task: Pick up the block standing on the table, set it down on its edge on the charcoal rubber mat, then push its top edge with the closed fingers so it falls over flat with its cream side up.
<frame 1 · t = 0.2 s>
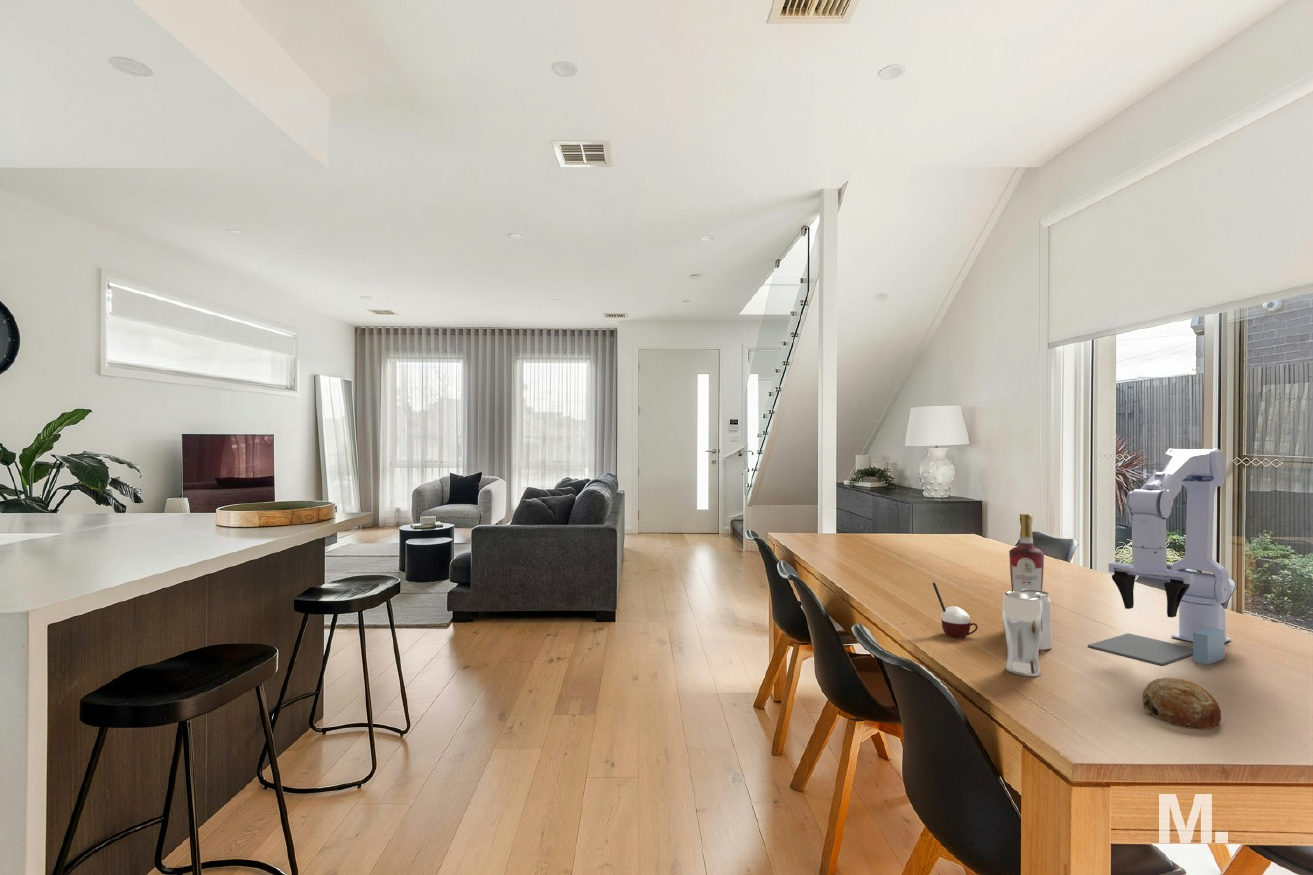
hand: (1149, 612, 132), 10 cm above the table, tool pointing down, fingers open, 7 cm apart
can: (1034, 647, 141), on the table
cocoa: (954, 636, 149), on the table
bread roll: (1181, 718, 104), on the table
liquor: (1027, 630, 153), on the table
mat: (1144, 649, 139), on the table
block: (1209, 659, 132), on the table
beer glass: (1023, 672, 125), on the table
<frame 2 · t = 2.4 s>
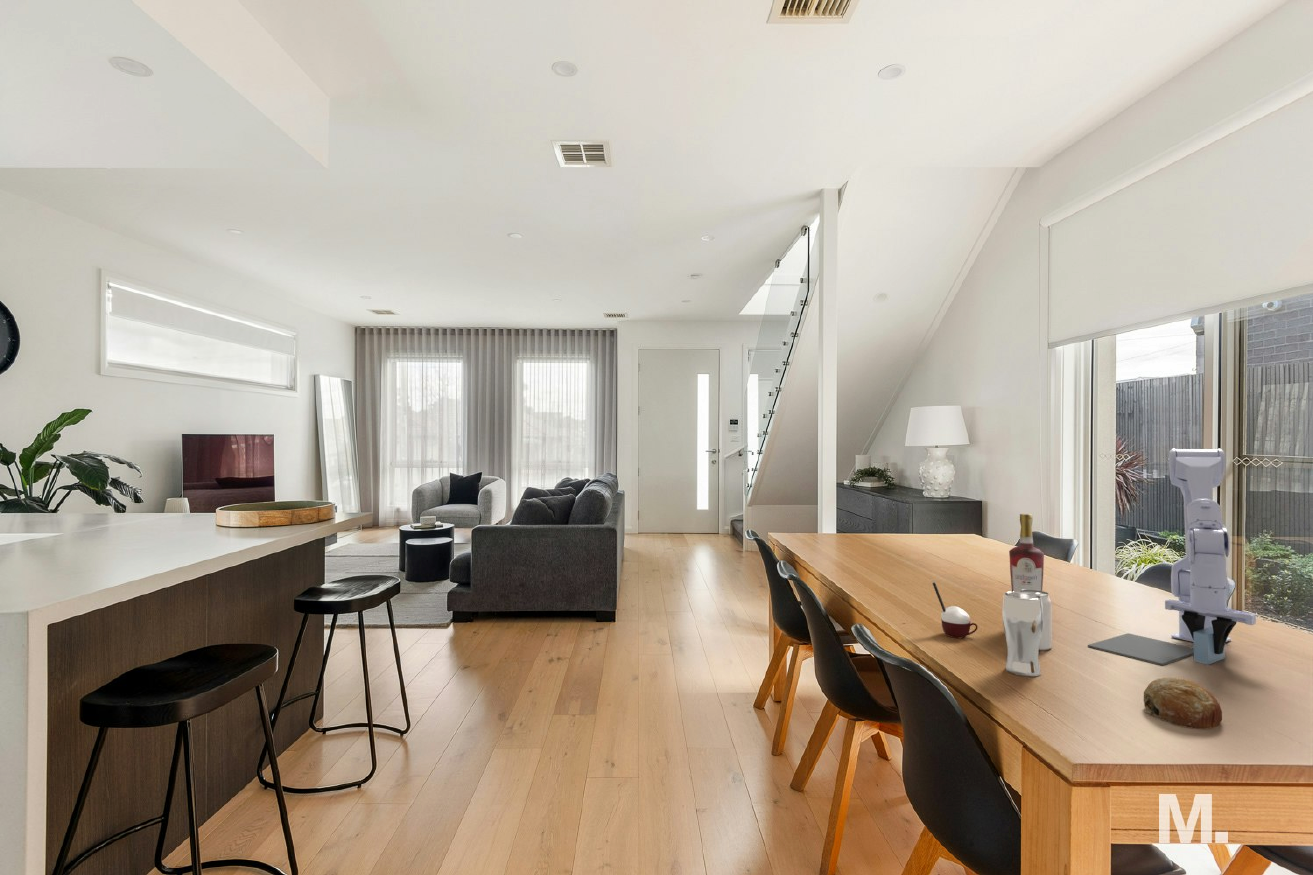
hand: (1208, 651, 132), 2 cm above the table, tool pointing down, fingers closed on block, 2 cm apart
block: (1209, 659, 132), on the table, touching gripper
everything else where it was.
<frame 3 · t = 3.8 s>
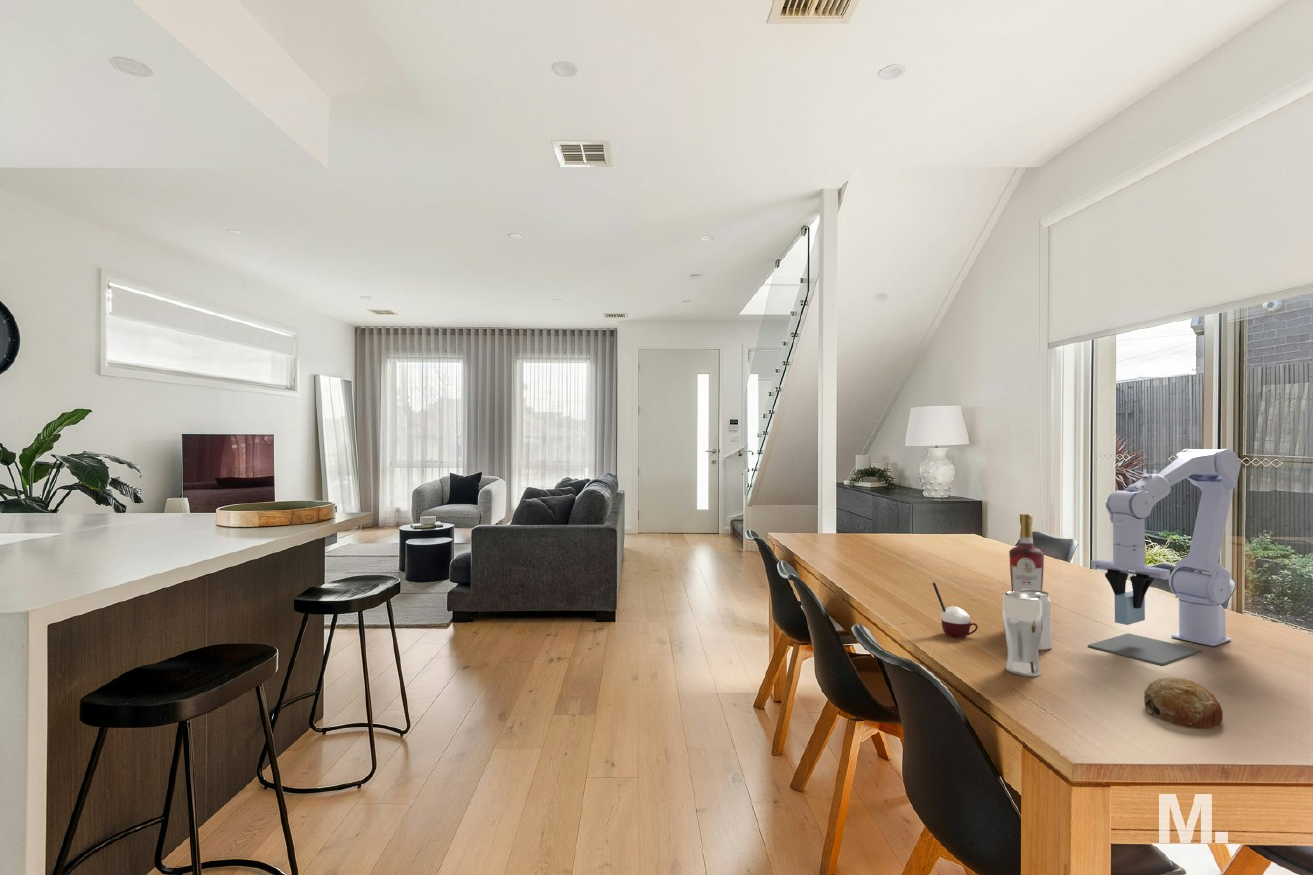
hand: (1129, 606, 141), 9 cm above the table, tool pointing down, fingers closed on block, 2 cm apart
block: (1129, 621, 141), point 6 cm above the table, touching gripper
everything else where it was.
when the fingers open (3 cm above the table, at t = 5.3 s): block stays where it is, resting on mat.
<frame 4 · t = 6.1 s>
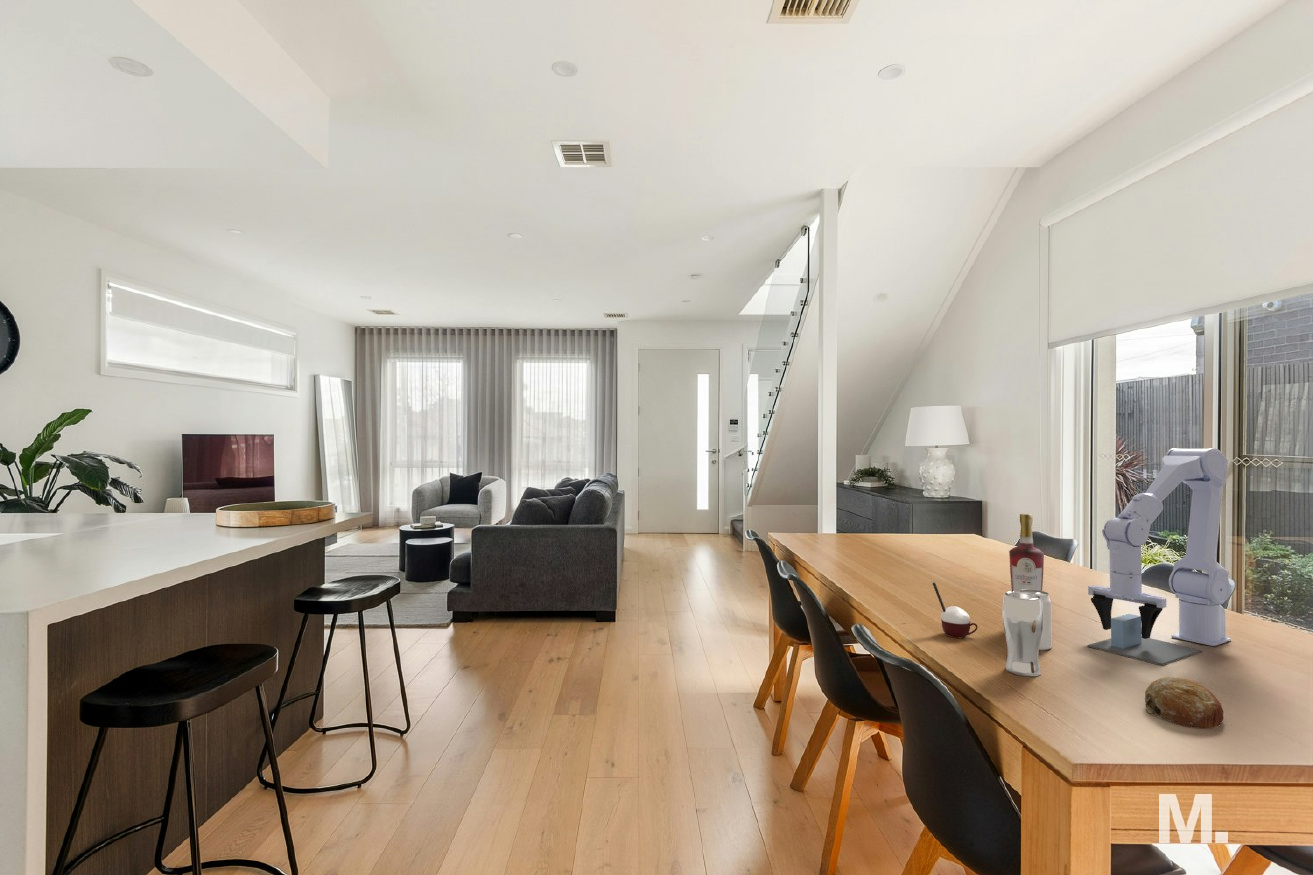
hand: (1126, 633, 141), 3 cm above the table, tool pointing down, fingers open, 7 cm apart
block: (1126, 644, 141), resting on mat
everything else where it was.
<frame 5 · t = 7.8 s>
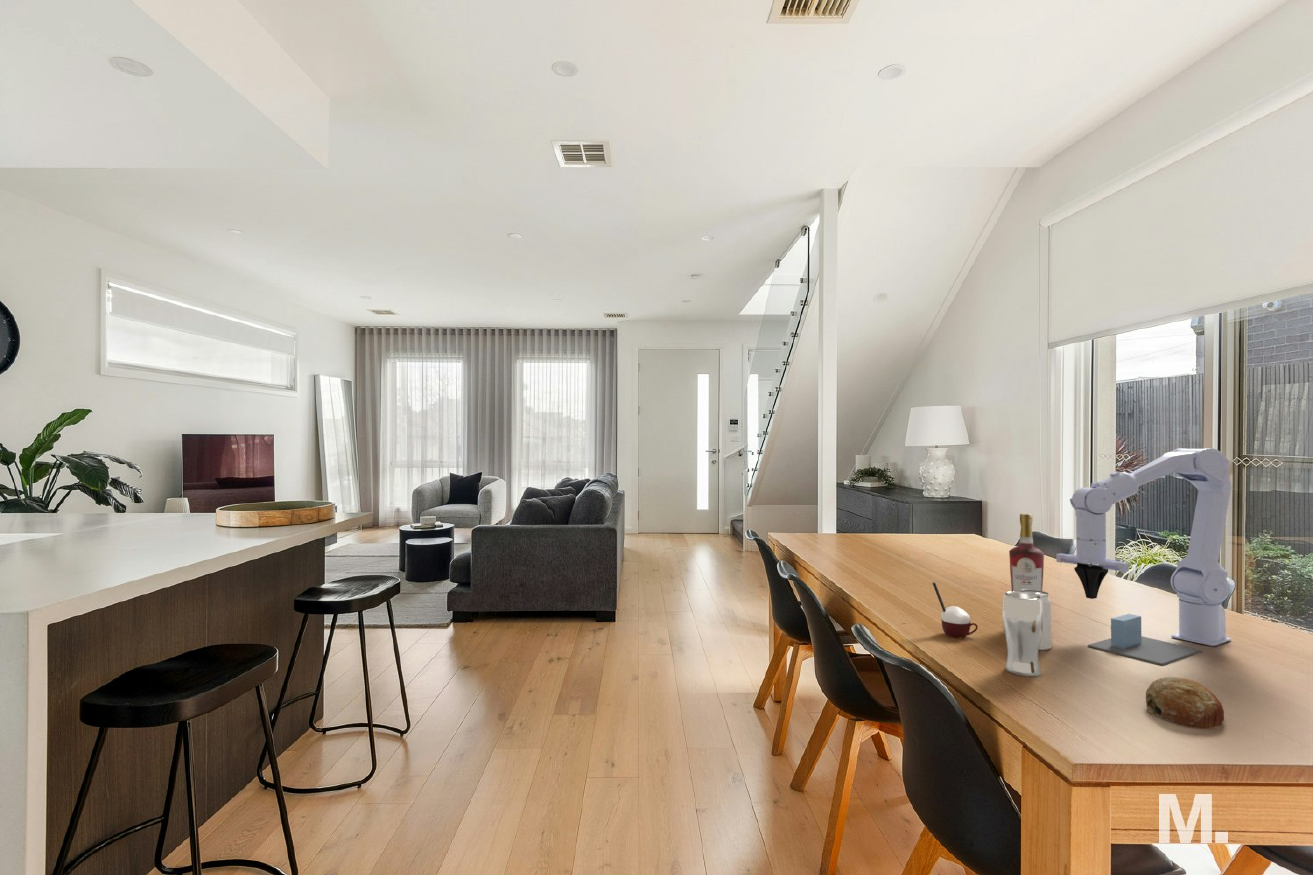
hand: (1091, 597, 147), 9 cm above the table, tool pointing down, fingers closed
nothing on the table moved.
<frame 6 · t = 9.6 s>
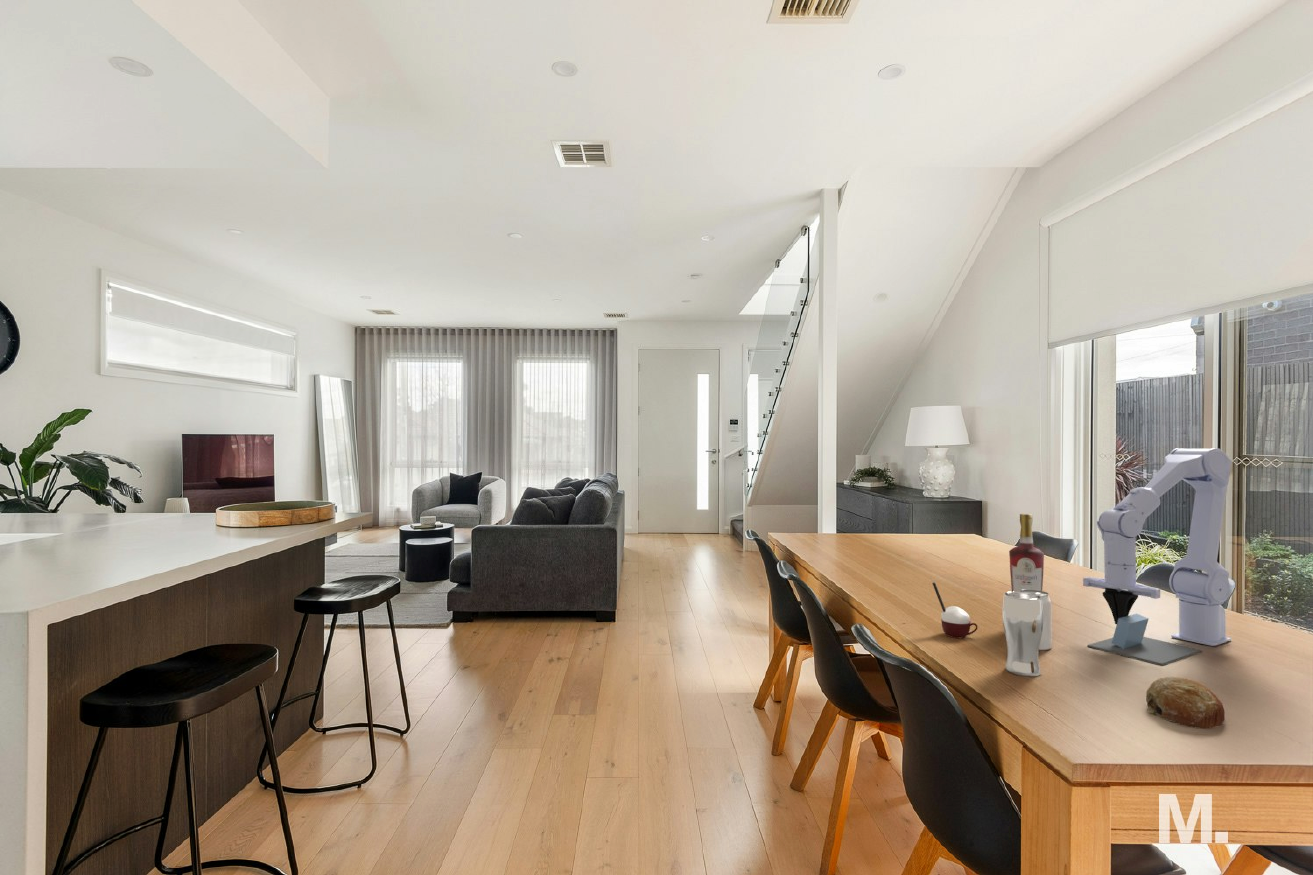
hand: (1120, 624, 142), 5 cm above the table, tool pointing down, fingers closed
block: (1126, 643, 141), point 1 cm above the table, tilted 14°, touching mat
everything else where it was.
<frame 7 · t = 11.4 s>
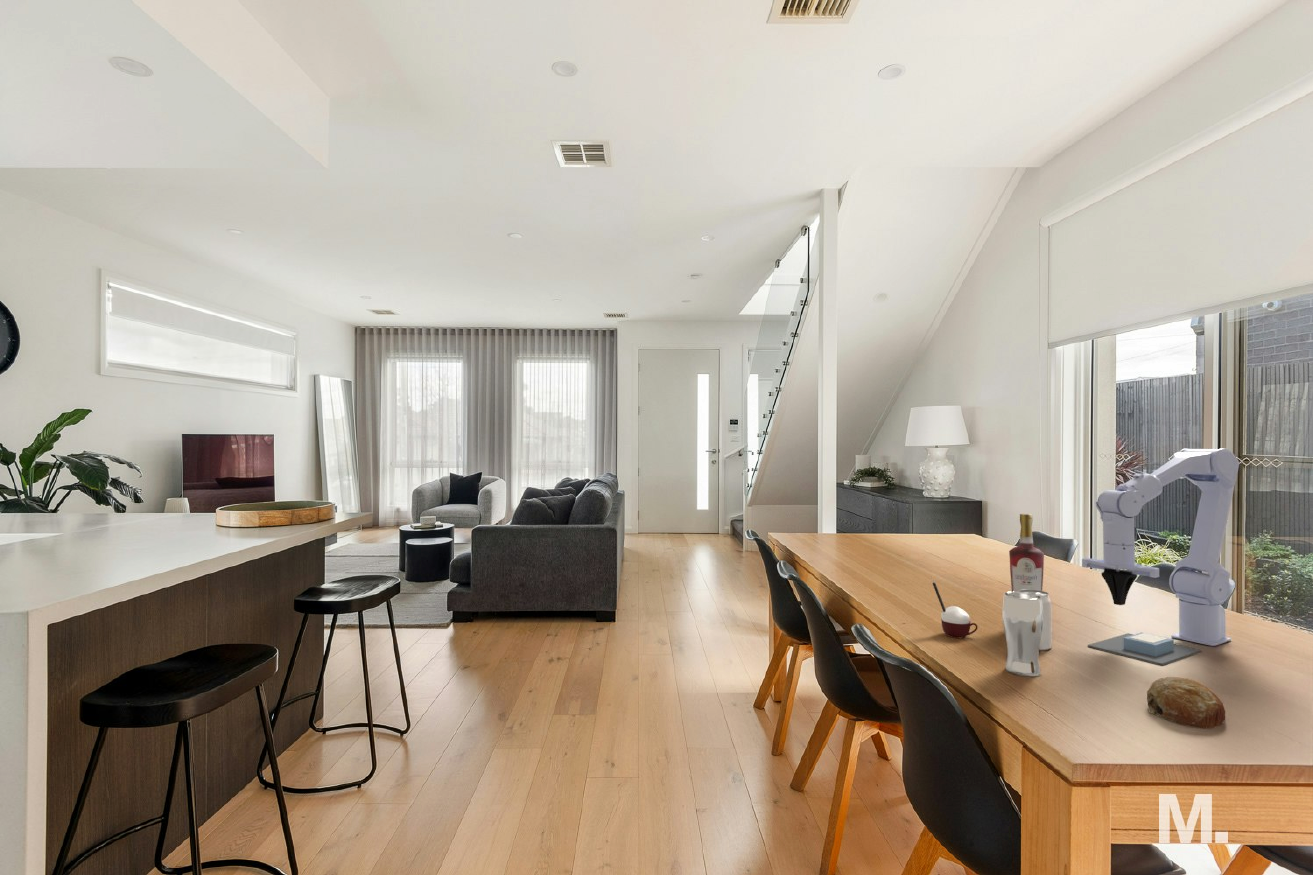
hand: (1119, 604, 142), 9 cm above the table, tool pointing down, fingers closed
block: (1132, 640, 140), point 2 cm above the table, tilted 90°, touching mat
everything else where it was.
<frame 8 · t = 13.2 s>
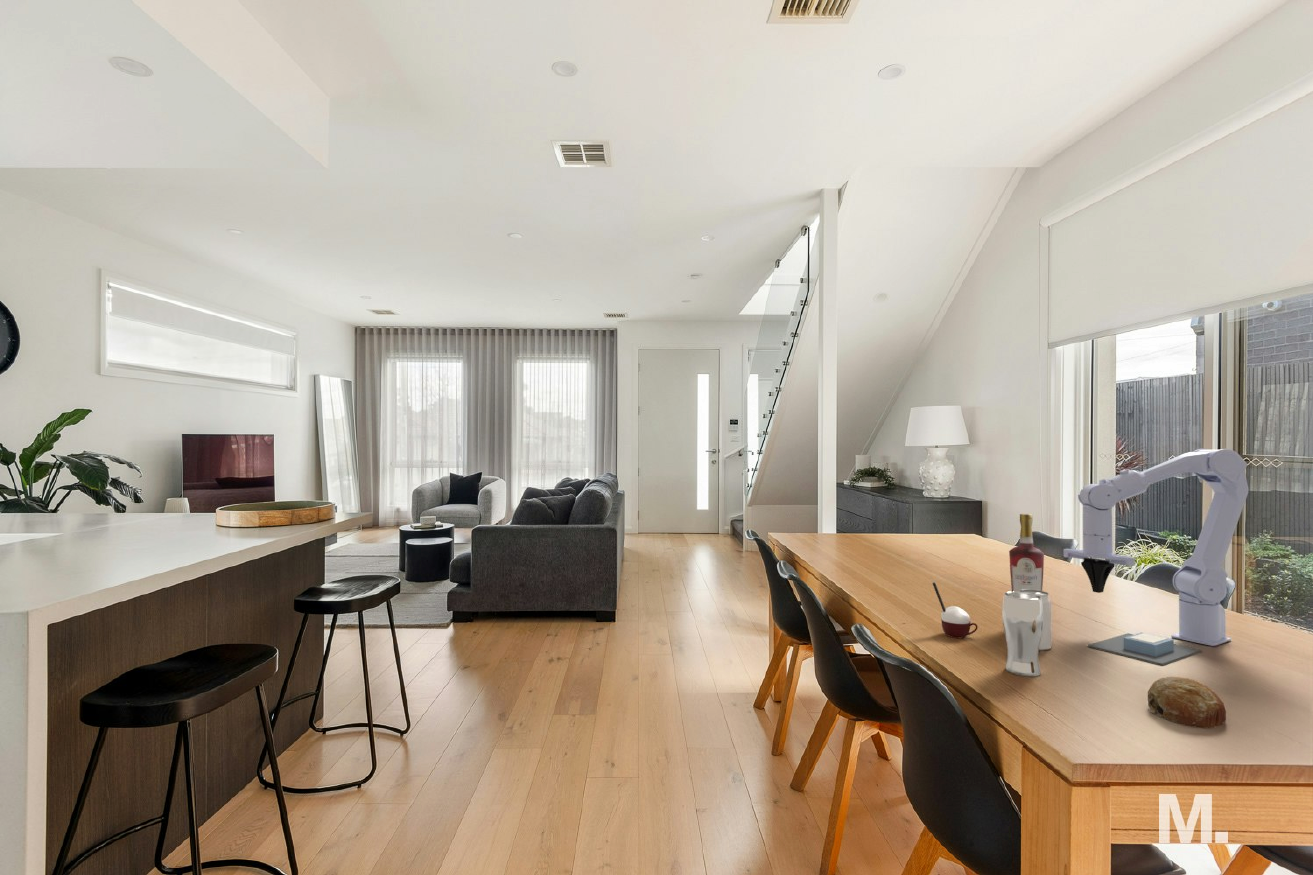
hand: (1098, 591, 151), 10 cm above the table, tool pointing down, fingers closed
at the end: block tilted 90°; block inside the target area on the mat (2.0 cm from its centre), point 1.6 cm above the mat's base; the gripper is holding nothing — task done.
